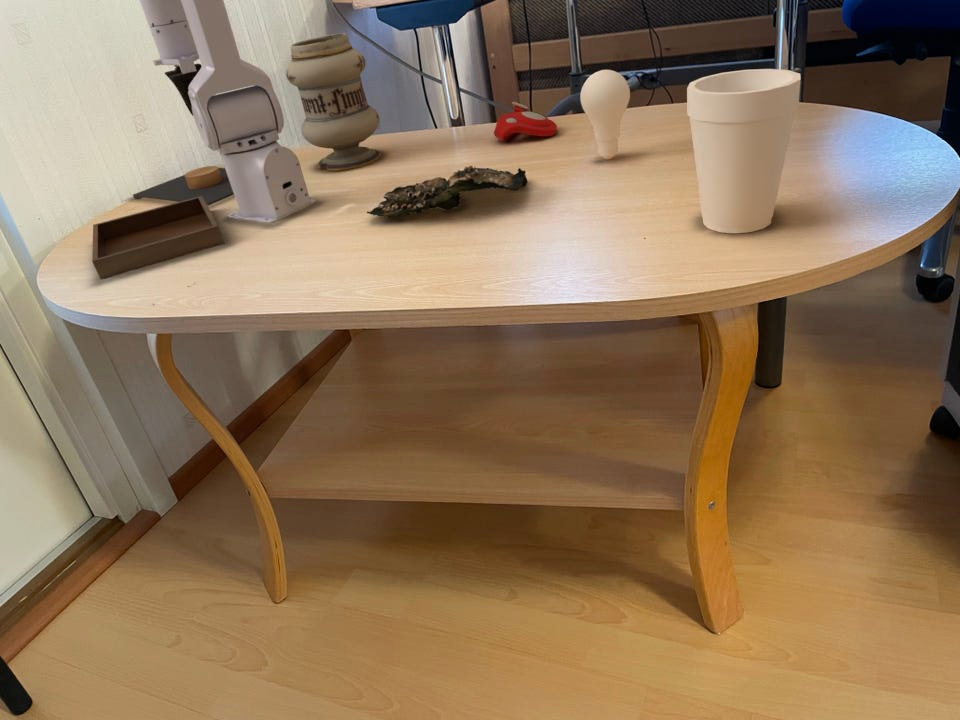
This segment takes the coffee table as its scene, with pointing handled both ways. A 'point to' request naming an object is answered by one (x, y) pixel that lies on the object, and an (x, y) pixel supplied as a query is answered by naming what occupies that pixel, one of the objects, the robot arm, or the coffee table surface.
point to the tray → (153, 236)
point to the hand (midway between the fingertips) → (201, 117)
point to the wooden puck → (203, 177)
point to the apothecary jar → (334, 100)
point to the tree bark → (445, 191)
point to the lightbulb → (605, 108)
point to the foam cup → (741, 144)
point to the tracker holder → (523, 123)
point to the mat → (188, 190)
